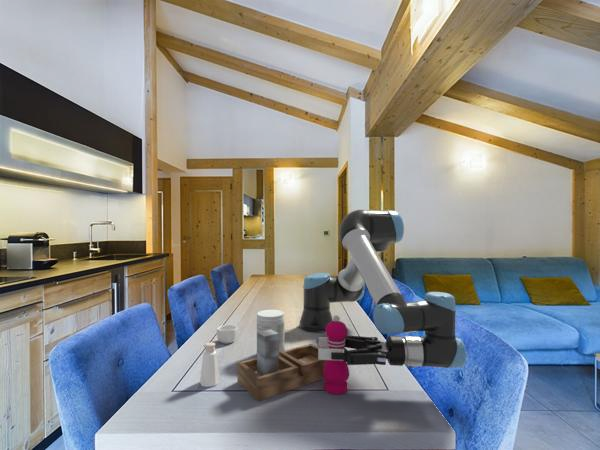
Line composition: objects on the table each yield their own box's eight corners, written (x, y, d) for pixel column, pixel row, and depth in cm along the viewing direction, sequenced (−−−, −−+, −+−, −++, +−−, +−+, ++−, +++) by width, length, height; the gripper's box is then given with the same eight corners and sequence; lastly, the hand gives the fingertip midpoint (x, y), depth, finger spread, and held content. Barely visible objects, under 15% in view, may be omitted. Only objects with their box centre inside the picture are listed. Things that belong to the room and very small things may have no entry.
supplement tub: (278, 348, 118) (278, 308, 118) (289, 358, 109) (289, 314, 110) (252, 353, 114) (253, 310, 114) (261, 363, 105) (262, 317, 105)
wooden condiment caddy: (320, 357, 110) (320, 314, 110) (345, 370, 100) (346, 323, 100) (237, 381, 92) (237, 330, 93) (258, 401, 82) (258, 343, 82)
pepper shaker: (212, 376, 96) (212, 339, 96) (223, 382, 92) (223, 343, 92) (195, 383, 92) (196, 344, 92) (207, 389, 88) (207, 348, 88)
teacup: (233, 345, 120) (233, 331, 120) (213, 344, 122) (213, 330, 122) (241, 337, 130) (241, 323, 130) (223, 335, 131) (223, 322, 131)
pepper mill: (320, 382, 92) (321, 312, 92) (345, 382, 93) (346, 311, 93) (324, 396, 85) (325, 319, 85) (352, 395, 86) (352, 319, 86)
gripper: (413, 383, 77) (317, 379, 79) (394, 350, 98) (319, 347, 100) (413, 351, 77) (317, 348, 79) (394, 325, 98) (319, 323, 100)
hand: (318, 347), depth 89 cm, fingers open, 8 cm apart
